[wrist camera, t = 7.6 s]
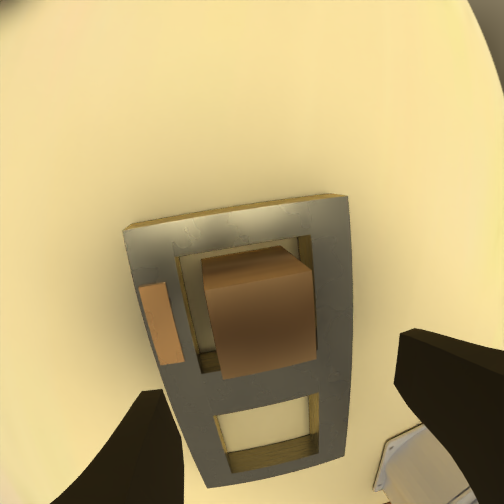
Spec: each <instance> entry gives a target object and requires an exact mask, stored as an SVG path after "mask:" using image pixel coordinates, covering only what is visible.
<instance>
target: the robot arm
mask: <svg viewBox="0 0 504 504" xmlns="http://www.w3.org/2000/svg"><path fill="white" fill-rule="evenodd" d="M394 385H395V387H396V388H397V390H398V392H399V393H400V395H401V396H402V398H403V399H404V401H405V402H406V404H407V405H408V407H409V408H410V409H411V410H412V411H413V413H414V414H415V415H416V416H417V417H418V418H419V420H420V421H421V422H422V423H423V424H422V425H420V426H418V427H416V428H414V429H412V430H410V431H408V432H406V433H404V434H402V435H399V436H397V437H395V438H393V439H391V440H389V441H388V442H387V443H386V445H385V449H384V453H383V457H382V460H381V464H380V467H379V471H378V474H377V478H376V481H375V484H374V487H373V491H374V492H377V491H380V490H382V489H383V491H384V493H385V494H386V496H387V497H388V499H389V500H390V502H391V504H504V351H502V350H498V349H493V348H488V347H484V346H480V345H476V344H473V343H469V342H465V341H462V340H458V339H455V338H451V337H448V336H444V335H441V334H437V333H434V332H430V331H426V330H421V329H416V328H414V329H411V330H408V331H406V332H403V333H400V337H399V347H398V355H397V363H396V371H395V378H394ZM50 504H184V460H183V450H182V440H181V436H180V433H179V431H178V429H177V426H176V424H175V421H174V419H173V416H172V414H171V411H170V408H169V406H168V403H167V401H166V398H165V395H164V393H163V390H162V389H158V390H149V391H142V392H141V393H140V394H139V396H138V397H137V399H136V400H135V401H134V403H133V404H132V406H131V407H130V409H129V410H128V412H127V413H126V415H125V416H124V418H123V419H122V421H121V422H120V424H119V425H118V427H117V428H116V430H115V431H114V432H113V434H112V435H111V437H110V438H109V440H108V441H107V442H106V444H105V445H104V446H103V448H102V449H101V450H100V452H99V453H98V454H97V455H96V457H95V458H94V459H93V460H92V462H91V463H90V464H89V465H88V467H87V468H86V469H85V470H84V471H83V472H82V474H81V475H80V476H79V477H78V478H77V479H76V480H75V481H74V482H73V483H72V484H71V485H70V486H69V487H68V488H67V489H66V490H65V491H64V492H63V493H62V494H61V495H60V496H59V497H57V498H56V499H55V500H54V501H53V502H51V503H50Z"/></svg>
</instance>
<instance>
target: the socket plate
mask: <svg viewBox="0 0 504 504" xmlns="http://www.w3.org/2000/svg"><path fill="white" fill-rule="evenodd" d="M123 236H124V241H125V246H126V251H127V255H128V260H129V264H130V269H131V273H132V277H133V281H134V285H135V290H136V293H137V297H138V301H139V305H140V309H141V312H142V316H143V320H144V323H145V327H146V330H147V333H148V337H149V340H150V343H151V347H152V350H153V353H154V356H155V359H156V362H157V365H158V368H159V371H160V374H161V377H162V380H163V383H164V386H165V389H166V391H167V394H168V397H169V400H170V402H171V405H172V408H173V410H174V413H175V416H176V418H177V421H178V423H179V426H180V428H181V431H182V433H183V436H184V438H185V440H186V443H187V445H188V447H189V450H190V452H191V454H192V457H193V459H194V461H195V463H196V465H197V468H198V470H199V472H200V474H201V476H202V478H203V480H204V483H205V485H206V487H207V488H214V487H221V486H228V485H234V484H240V483H246V482H251V481H256V480H261V479H266V478H270V477H274V476H279V475H283V474H287V473H291V472H295V471H298V470H302V469H305V468H309V467H312V466H316V465H319V464H322V463H325V462H328V461H331V460H334V459H337V458H340V457H343V456H344V454H345V446H346V437H347V426H348V415H349V403H350V388H351V370H352V341H353V279H352V250H351V231H350V215H349V202H348V196H345V195H338V194H331V193H330V194H321V195H313V196H305V197H297V198H289V199H282V200H274V201H267V202H260V203H253V204H246V205H240V206H233V207H226V208H220V209H214V210H207V211H201V212H195V213H189V214H183V215H178V216H172V217H166V218H161V219H155V220H150V221H144V222H139V223H134V224H131V225H129V226H128V227H127V228H125V229H124V230H123ZM292 237H298V245H299V256H300V261H301V262H302V263H303V264H304V265H306V266H307V267H308V268H309V269H311V270H312V278H313V294H314V311H315V332H316V358H317V359H315V360H311V361H307V362H303V363H299V364H295V365H291V366H287V367H283V368H278V369H274V370H270V371H265V372H260V373H256V374H251V375H246V376H241V377H235V378H230V379H225V380H223V377H222V373H221V368H220V364H219V359H218V355H217V351H211V352H205V353H200V352H199V348H198V344H197V340H196V335H195V331H194V327H193V322H192V318H191V314H190V309H189V304H188V300H187V295H186V290H185V286H184V281H183V276H182V271H181V266H180V261H179V256H184V255H190V254H196V253H202V252H208V251H214V250H220V249H226V248H232V247H238V246H243V245H249V244H255V243H261V242H268V241H274V240H280V239H286V238H292ZM307 395H309V425H310V435H307V436H303V437H300V438H296V439H292V440H288V441H284V442H280V443H276V444H272V445H268V446H263V447H258V448H254V449H249V450H243V451H238V452H232V453H228V452H227V449H226V446H225V442H224V439H223V436H222V432H221V429H220V426H219V422H218V419H217V416H216V415H221V414H227V413H233V412H238V411H243V410H248V409H253V408H258V407H263V406H267V405H271V404H276V403H280V402H284V401H288V400H292V399H296V398H300V397H304V396H307Z"/></svg>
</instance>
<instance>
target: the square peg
mask: <svg viewBox="0 0 504 504" xmlns="http://www.w3.org/2000/svg"><path fill="white" fill-rule="evenodd" d="M201 262H202V272H203V282H204V291H205V296H206V302H207V307H208V312H209V317H210V322H211V327H212V331H213V336H214V341H215V346H216V350H217V355H218V359H219V364H220V368H221V373H222V377H223V380H225V379H230V378H235V377H241V376H246V375H251V374H256V373H260V372H265V371H270V370H274V369H278V368H283V367H287V366H291V365H295V364H299V363H303V362H307V361H311V360H315V359H317V358H316V332H315V311H314V294H313V278H312V270H311V269H309V268H308V267H307V266H306V265H304V264H303V263H302V262H301V261H299V260H298V259H297V258H296V257H294V256H293V255H292V254H290V253H289V252H288V251H287V250H285V249H284V248H283V247H282V246H275V247H269V248H263V249H257V250H251V251H245V252H239V253H233V254H228V255H222V256H216V257H210V258H204V259H201Z"/></svg>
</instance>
